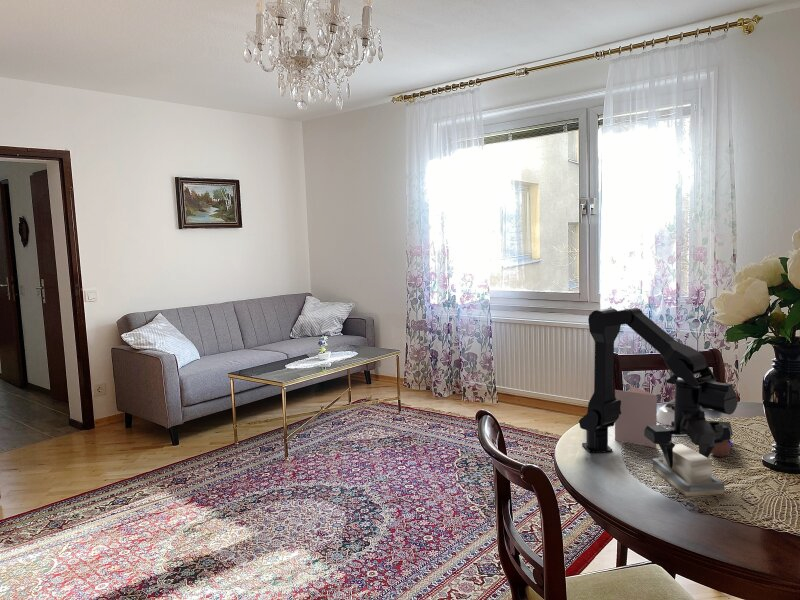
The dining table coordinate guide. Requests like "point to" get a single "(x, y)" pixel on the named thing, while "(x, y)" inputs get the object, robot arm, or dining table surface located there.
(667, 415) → the inkwell
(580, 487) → the dining table surface
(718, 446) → the figurine character
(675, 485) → the jig board
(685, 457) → the block
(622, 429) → the greeting card
